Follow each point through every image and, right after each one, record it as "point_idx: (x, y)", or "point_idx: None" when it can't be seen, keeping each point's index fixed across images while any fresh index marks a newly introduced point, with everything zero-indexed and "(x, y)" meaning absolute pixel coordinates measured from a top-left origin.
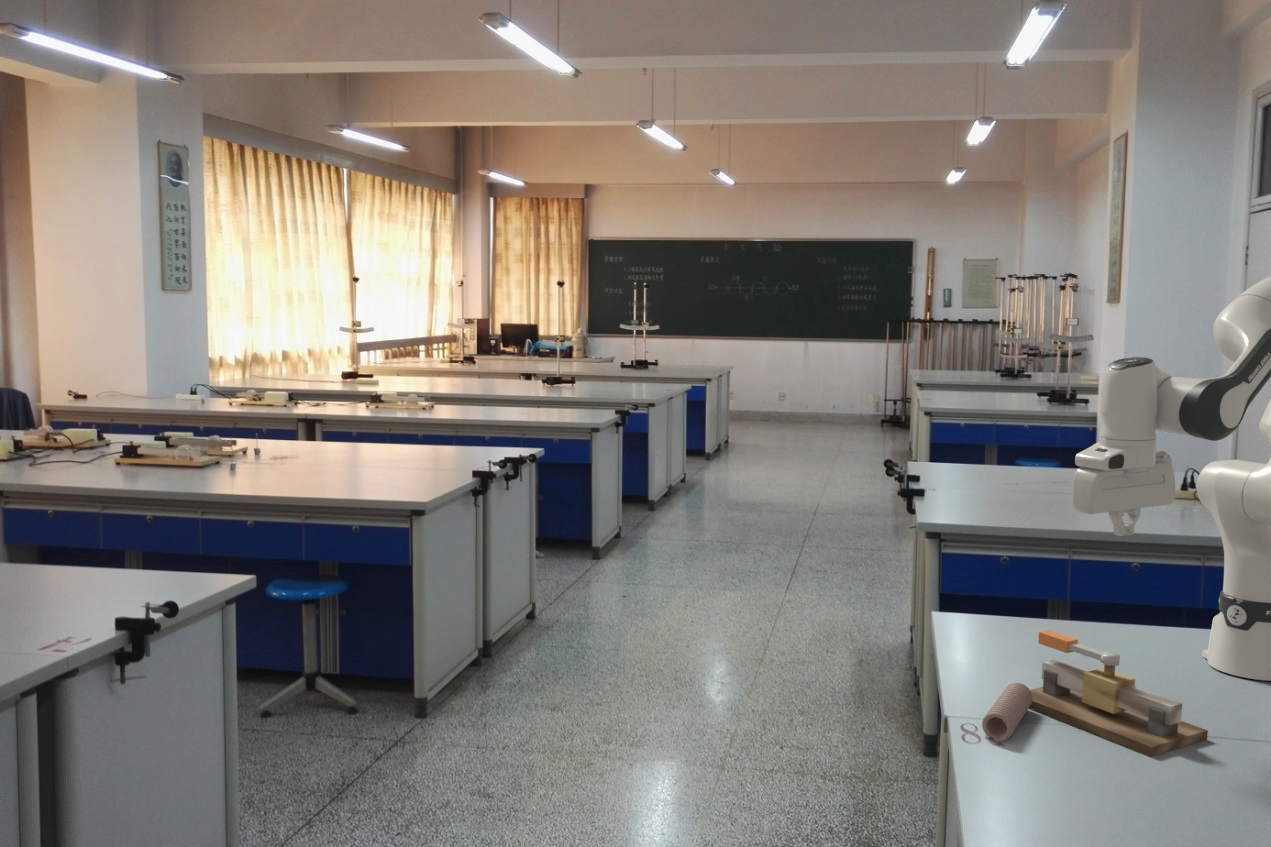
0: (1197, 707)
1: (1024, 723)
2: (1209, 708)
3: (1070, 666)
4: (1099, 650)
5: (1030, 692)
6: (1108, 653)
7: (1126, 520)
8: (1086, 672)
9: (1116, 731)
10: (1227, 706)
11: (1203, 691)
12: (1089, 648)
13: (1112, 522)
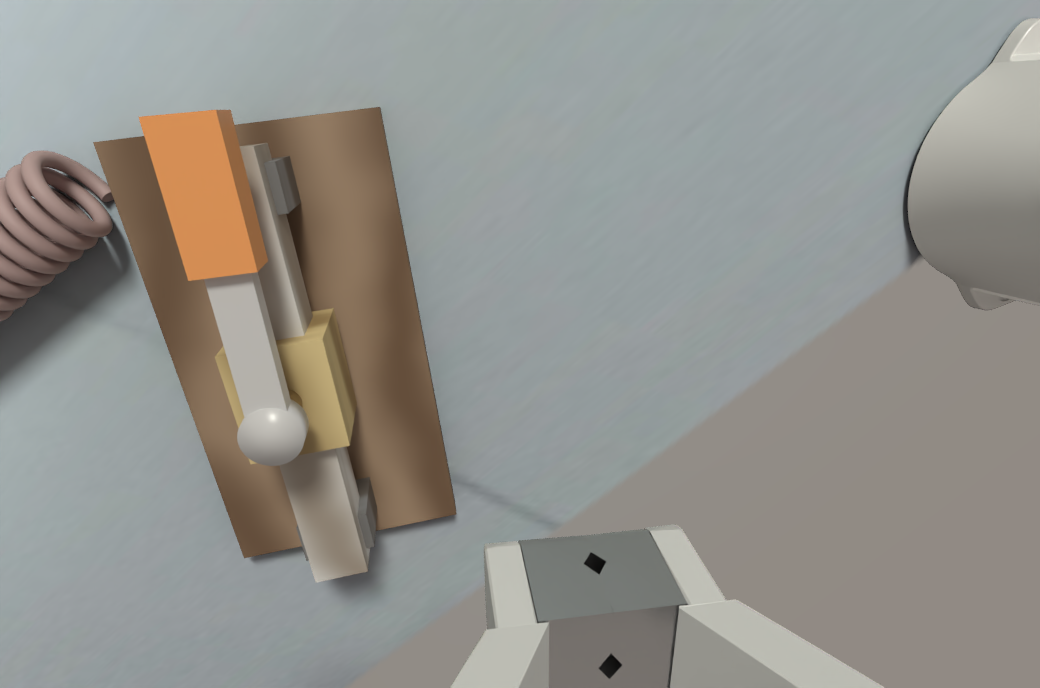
0: (610, 348)
1: (39, 299)
2: (631, 361)
3: (262, 235)
4: (277, 376)
5: (88, 234)
6: (274, 425)
7: (713, 658)
8: (227, 359)
9: (224, 472)
10: (682, 364)
11: (729, 265)
12: (253, 346)
13: (471, 656)
